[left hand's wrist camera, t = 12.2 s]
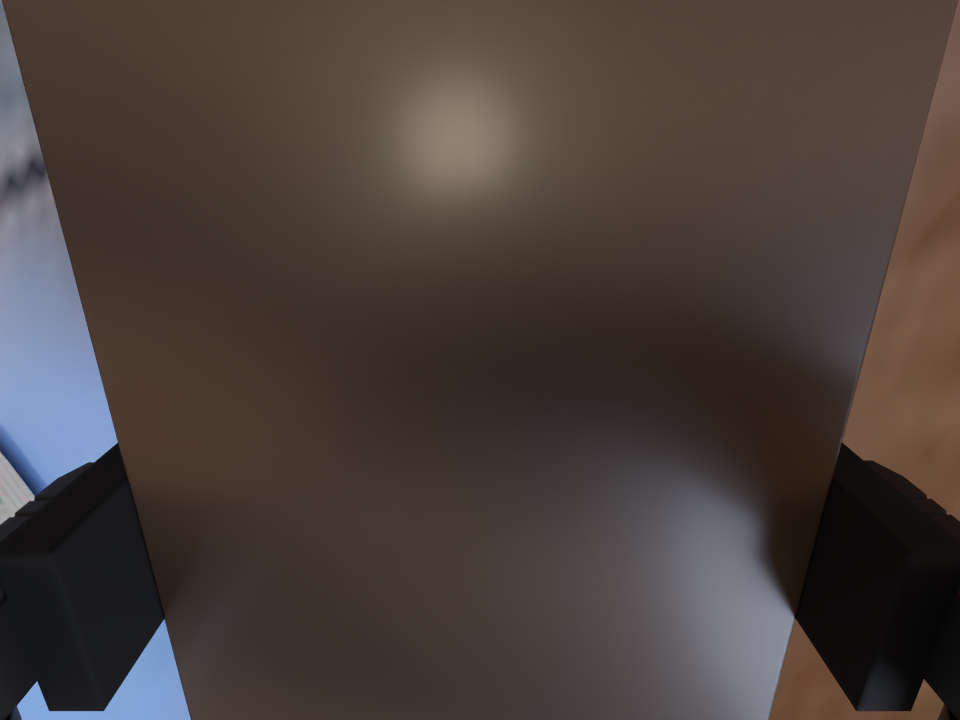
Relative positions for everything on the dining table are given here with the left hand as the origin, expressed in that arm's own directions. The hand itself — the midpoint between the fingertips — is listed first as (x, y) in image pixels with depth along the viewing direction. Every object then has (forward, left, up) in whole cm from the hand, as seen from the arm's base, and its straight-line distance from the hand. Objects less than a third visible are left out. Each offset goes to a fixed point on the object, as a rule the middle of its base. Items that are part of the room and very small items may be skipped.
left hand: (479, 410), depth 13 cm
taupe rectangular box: (0, +4, -4) cm, 6 cm away
